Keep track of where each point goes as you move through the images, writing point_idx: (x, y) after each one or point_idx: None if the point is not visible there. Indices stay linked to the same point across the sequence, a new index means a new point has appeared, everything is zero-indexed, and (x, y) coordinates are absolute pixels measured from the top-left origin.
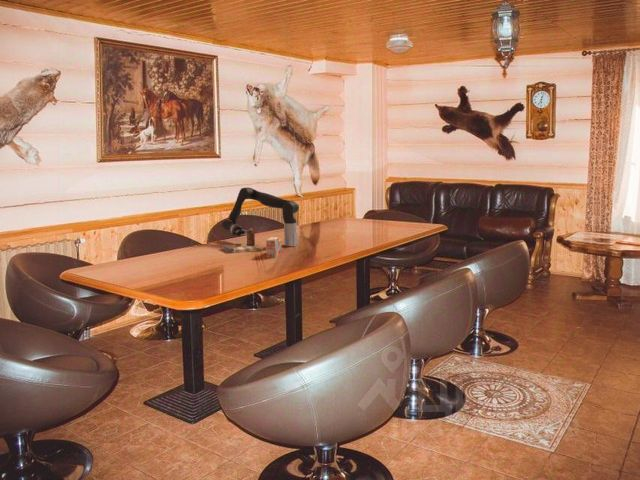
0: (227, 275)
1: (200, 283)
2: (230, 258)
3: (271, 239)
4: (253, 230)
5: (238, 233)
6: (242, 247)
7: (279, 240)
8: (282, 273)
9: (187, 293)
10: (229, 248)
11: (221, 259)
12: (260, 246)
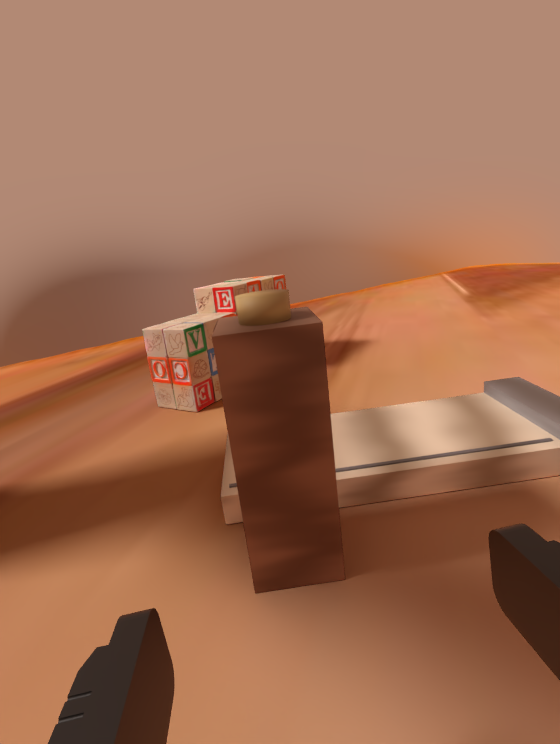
0: (446, 292)
1: (498, 278)
2: (474, 350)
3: (254, 278)
4: (228, 319)
5: (551, 556)
6: (410, 440)
7: (173, 320)
8: (313, 303)
9: (503, 269)
10: (528, 384)
11: (521, 343)
12: (225, 452)
